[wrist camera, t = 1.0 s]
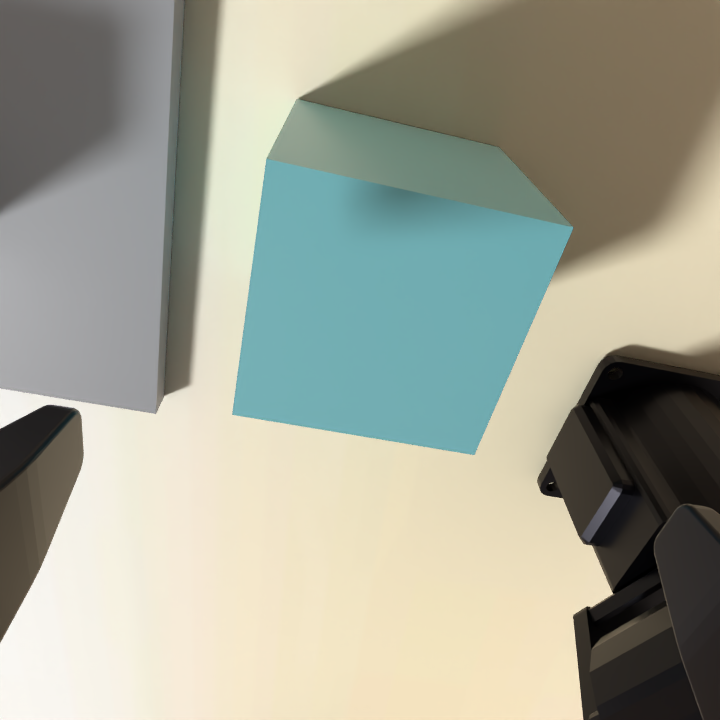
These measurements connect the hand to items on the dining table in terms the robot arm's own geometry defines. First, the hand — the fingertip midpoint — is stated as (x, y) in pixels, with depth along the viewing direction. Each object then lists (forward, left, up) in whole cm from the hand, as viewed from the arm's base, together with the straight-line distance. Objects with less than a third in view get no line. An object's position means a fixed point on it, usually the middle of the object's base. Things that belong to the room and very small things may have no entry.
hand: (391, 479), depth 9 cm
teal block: (0, 0, -11) cm, 11 cm away
